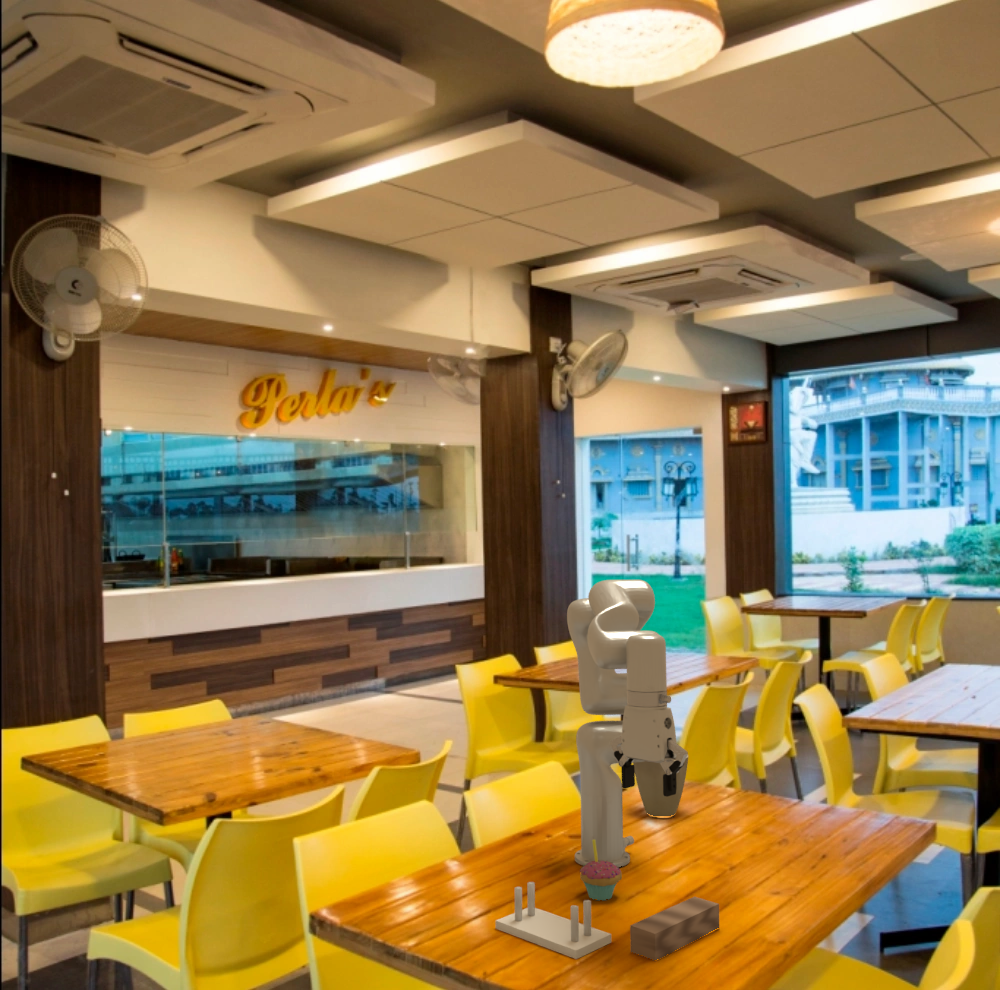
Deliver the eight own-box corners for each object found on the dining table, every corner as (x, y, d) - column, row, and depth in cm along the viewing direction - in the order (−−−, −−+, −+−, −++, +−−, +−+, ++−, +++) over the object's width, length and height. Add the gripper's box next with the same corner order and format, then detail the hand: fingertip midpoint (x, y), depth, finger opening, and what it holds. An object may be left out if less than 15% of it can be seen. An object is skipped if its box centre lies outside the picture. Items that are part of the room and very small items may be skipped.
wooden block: (695, 922, 192) (694, 896, 193) (719, 930, 189) (718, 903, 189) (630, 953, 178) (630, 925, 179) (655, 962, 175) (655, 933, 175)
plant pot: (700, 814, 266) (699, 754, 266) (668, 826, 255) (667, 763, 256) (653, 804, 276) (652, 746, 277) (621, 815, 265) (620, 755, 266)
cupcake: (571, 896, 206) (571, 837, 207) (598, 886, 212) (597, 829, 212) (603, 907, 200) (603, 846, 200) (630, 896, 206) (629, 837, 206)
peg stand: (495, 928, 189) (495, 888, 190) (531, 913, 197) (530, 875, 197) (576, 959, 176) (575, 915, 176) (611, 942, 183) (610, 900, 183)
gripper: (696, 701, 186) (698, 795, 185) (623, 693, 198) (625, 781, 197) (672, 706, 181) (674, 802, 180) (599, 697, 193) (600, 787, 192)
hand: (648, 791), depth 188 cm, fingers open, 9 cm apart
